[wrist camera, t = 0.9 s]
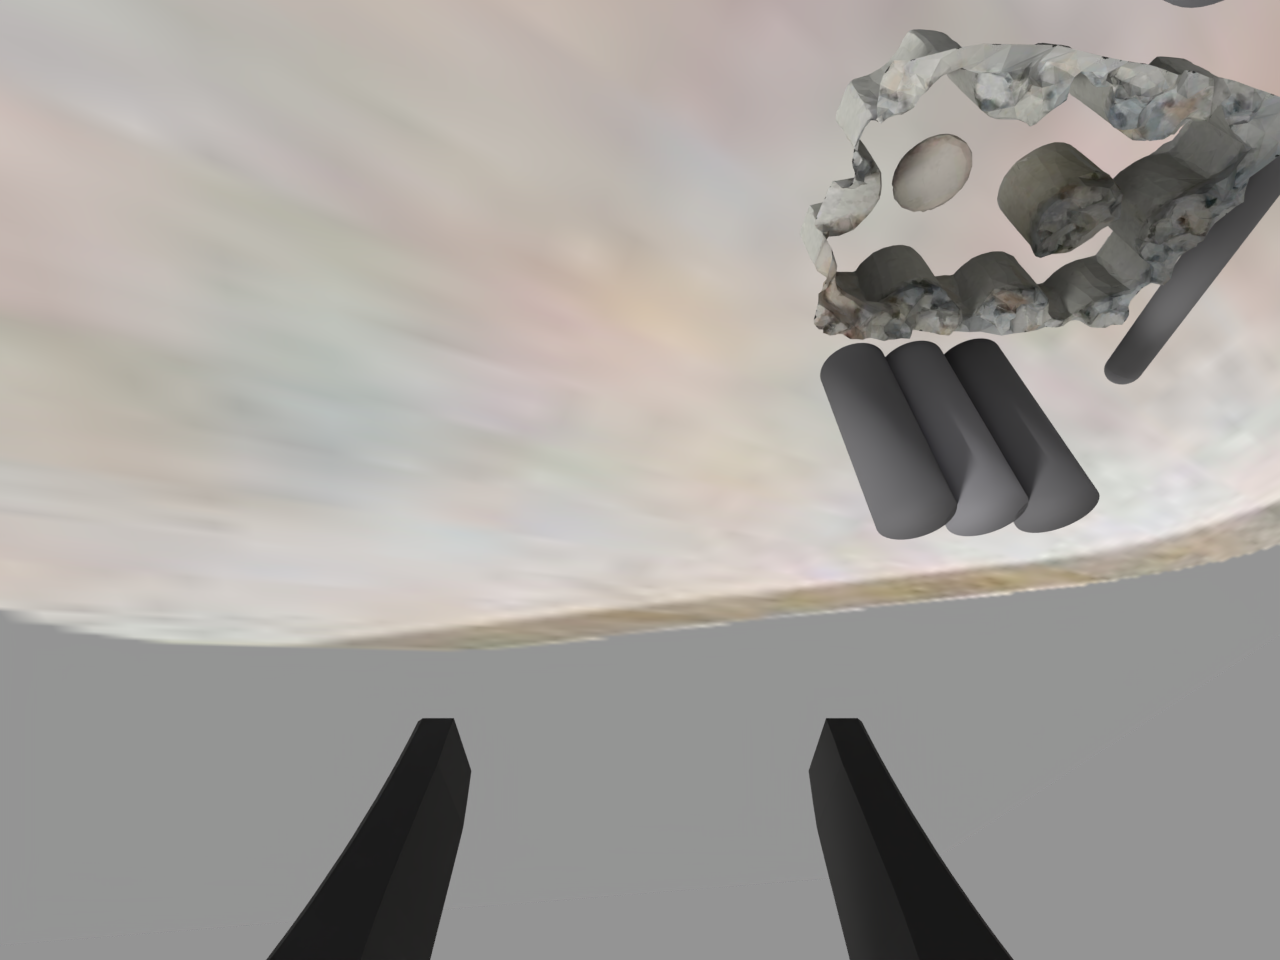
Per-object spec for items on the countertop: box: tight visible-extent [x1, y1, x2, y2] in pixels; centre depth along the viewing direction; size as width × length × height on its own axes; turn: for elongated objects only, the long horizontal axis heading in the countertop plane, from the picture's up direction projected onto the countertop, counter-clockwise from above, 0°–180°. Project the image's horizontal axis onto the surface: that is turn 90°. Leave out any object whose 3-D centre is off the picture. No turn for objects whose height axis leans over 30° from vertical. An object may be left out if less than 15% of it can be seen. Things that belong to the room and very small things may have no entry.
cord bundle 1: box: [820, 338, 1100, 540], centre depth 22 cm, size 2×7×7 cm, turn 90°
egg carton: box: [800, 29, 1280, 341], centre depth 18 cm, size 11×8×4 cm
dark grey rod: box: [1104, 155, 1280, 385], centre depth 19 cm, size 15×1×1 cm, turn 0°
